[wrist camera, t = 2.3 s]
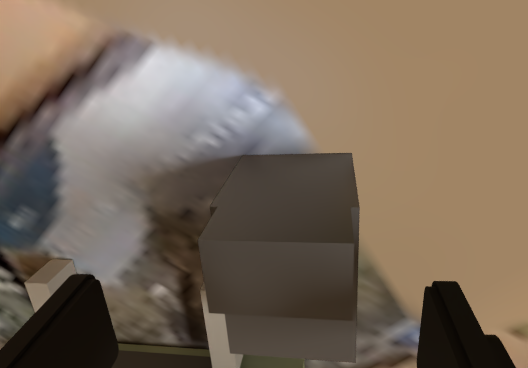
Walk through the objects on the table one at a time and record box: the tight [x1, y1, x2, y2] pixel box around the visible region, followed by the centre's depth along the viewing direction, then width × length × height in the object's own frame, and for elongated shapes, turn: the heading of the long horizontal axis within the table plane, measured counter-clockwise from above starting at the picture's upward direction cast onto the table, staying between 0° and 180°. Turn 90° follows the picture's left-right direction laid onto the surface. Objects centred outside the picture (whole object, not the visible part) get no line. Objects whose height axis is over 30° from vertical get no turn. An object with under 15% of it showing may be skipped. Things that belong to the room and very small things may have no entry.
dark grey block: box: [198, 153, 359, 363], centre depth 14 cm, size 4×6×7 cm
